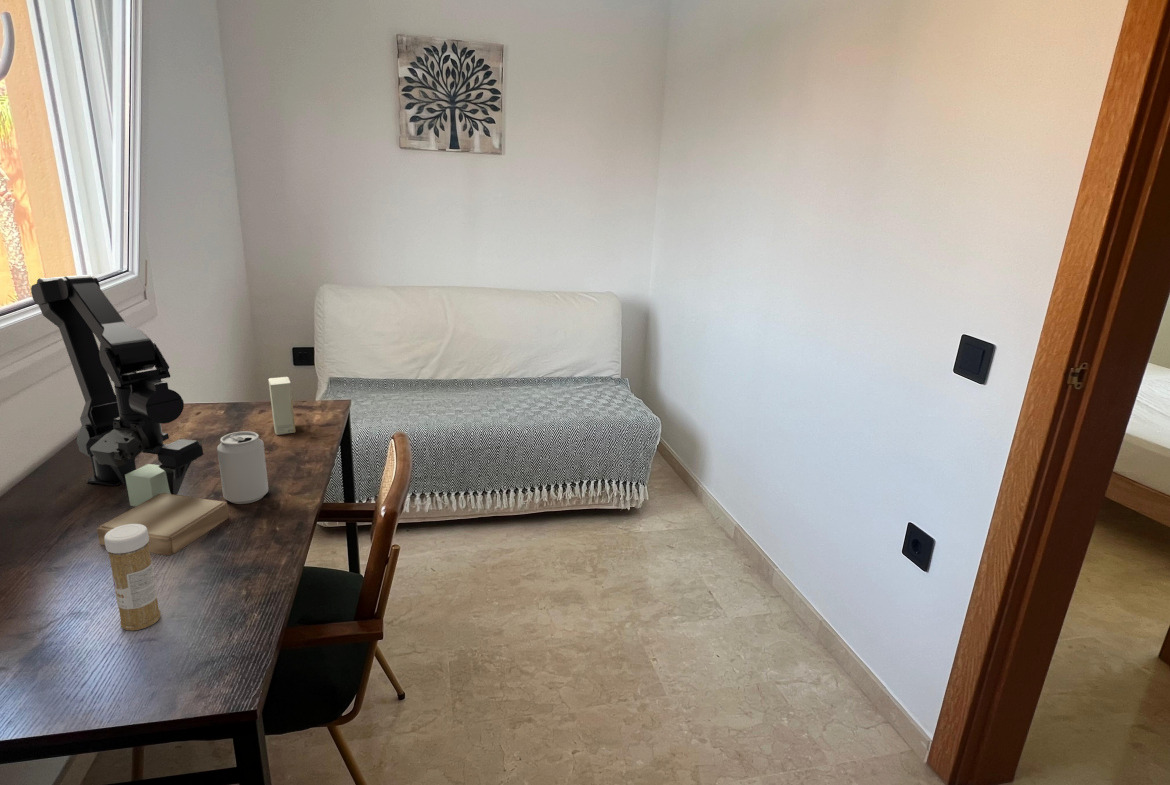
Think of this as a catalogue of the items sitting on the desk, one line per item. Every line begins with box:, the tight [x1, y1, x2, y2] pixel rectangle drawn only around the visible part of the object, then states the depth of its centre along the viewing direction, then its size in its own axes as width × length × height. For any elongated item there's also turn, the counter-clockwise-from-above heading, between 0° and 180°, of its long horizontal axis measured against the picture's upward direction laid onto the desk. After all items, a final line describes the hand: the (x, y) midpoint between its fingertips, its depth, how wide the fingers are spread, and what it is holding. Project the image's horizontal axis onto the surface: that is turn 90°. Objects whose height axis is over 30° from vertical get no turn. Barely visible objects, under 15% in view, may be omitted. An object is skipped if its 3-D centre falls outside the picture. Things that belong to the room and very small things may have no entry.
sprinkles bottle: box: [104, 524, 162, 631], centre depth 85 cm, size 5×5×13 cm
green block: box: [125, 463, 171, 507], centre depth 118 cm, size 5×5×6 cm
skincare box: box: [268, 376, 296, 436], centre depth 153 cm, size 6×4×12 cm
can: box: [216, 430, 269, 505], centre depth 120 cm, size 8×8×12 cm
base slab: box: [96, 493, 230, 557], centre depth 109 cm, size 13×13×3 cm
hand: (152, 491), depth 118 cm, fingers open, 9 cm apart
